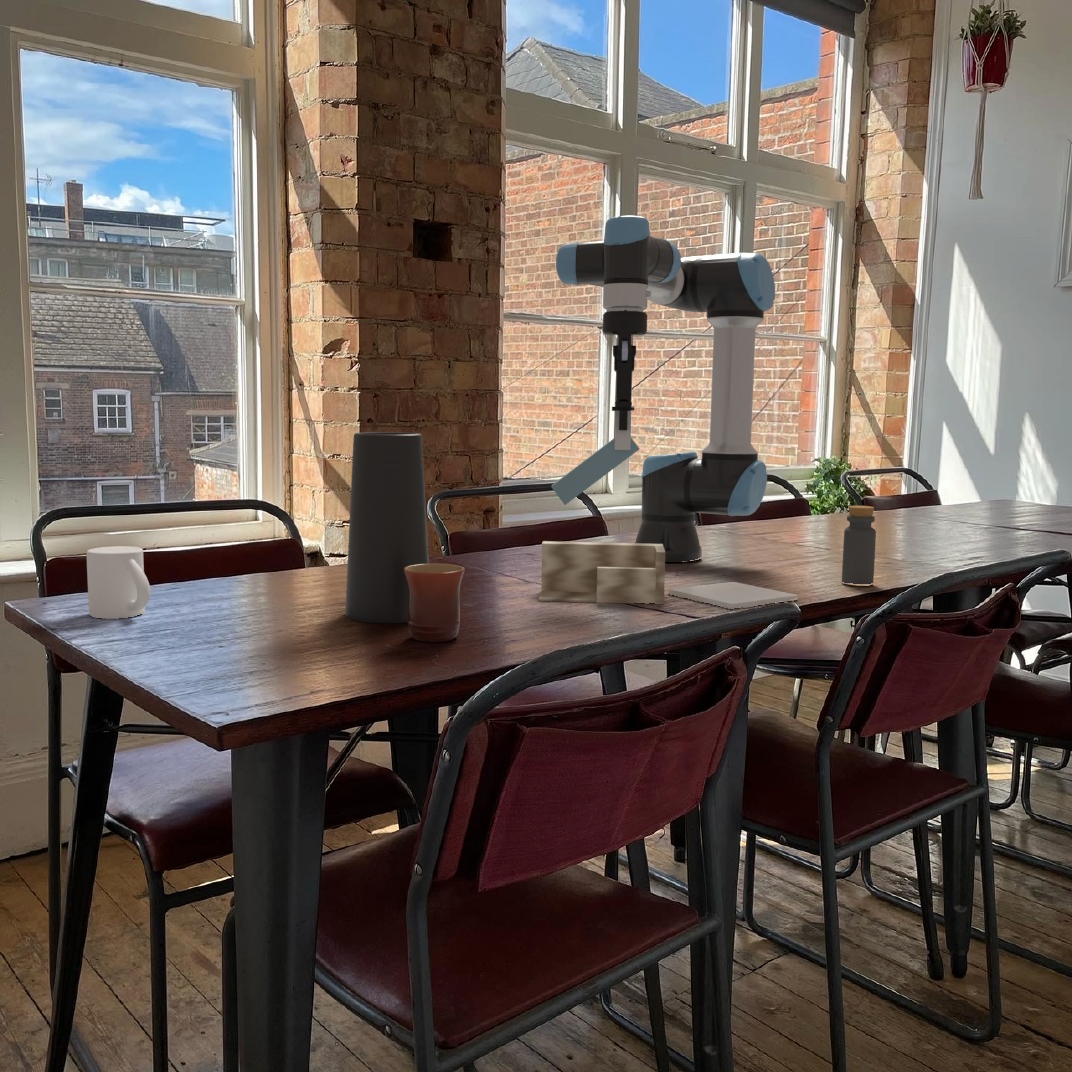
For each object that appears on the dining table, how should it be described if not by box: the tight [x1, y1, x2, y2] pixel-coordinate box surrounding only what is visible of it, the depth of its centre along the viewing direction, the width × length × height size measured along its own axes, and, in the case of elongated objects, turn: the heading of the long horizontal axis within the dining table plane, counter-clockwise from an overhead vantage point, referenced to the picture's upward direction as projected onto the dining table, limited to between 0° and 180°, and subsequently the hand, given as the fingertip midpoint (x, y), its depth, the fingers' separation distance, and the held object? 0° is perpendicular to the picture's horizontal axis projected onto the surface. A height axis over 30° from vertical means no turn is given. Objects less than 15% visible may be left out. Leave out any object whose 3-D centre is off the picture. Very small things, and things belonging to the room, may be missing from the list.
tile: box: [667, 581, 799, 610], centre depth 192 cm, size 16×16×1 cm
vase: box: [345, 431, 430, 624], centre depth 171 cm, size 14×14×29 cm
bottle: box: [841, 505, 877, 584], centre depth 206 cm, size 6×6×15 cm
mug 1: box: [86, 545, 151, 620], centre depth 169 cm, size 8×10×12 cm
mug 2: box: [404, 563, 465, 643], centre depth 158 cm, size 12×9×10 cm
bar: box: [550, 437, 640, 506], centre depth 187 cm, size 16×4×4 cm
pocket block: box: [538, 540, 666, 605], centre depth 190 cm, size 22×10×9 cm, turn 86°
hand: (622, 448), depth 186 cm, fingers closed on bar, 4 cm apart
